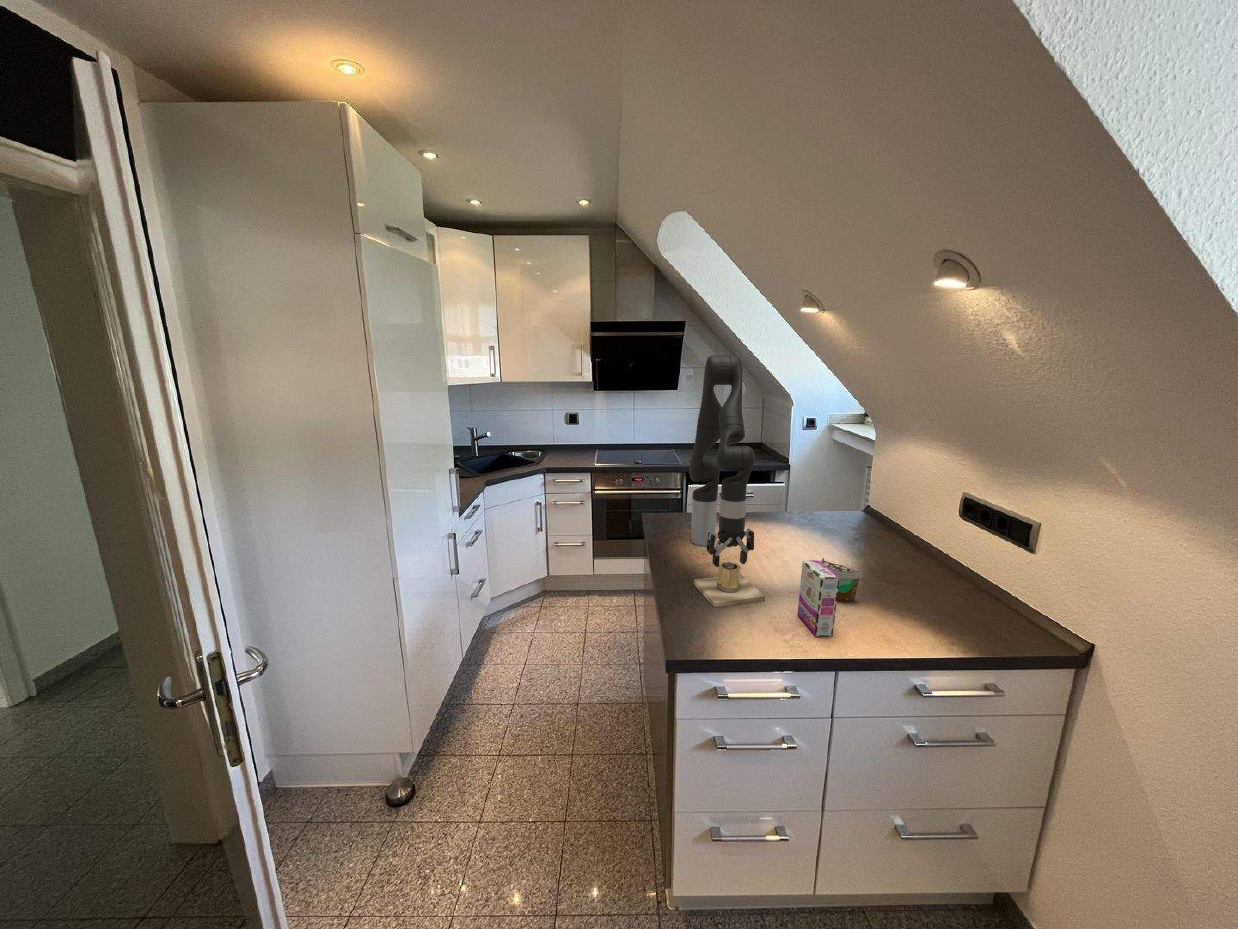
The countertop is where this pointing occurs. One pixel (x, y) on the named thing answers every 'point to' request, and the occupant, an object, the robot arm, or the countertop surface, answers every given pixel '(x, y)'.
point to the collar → (729, 576)
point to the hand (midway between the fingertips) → (729, 564)
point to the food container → (845, 581)
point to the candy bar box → (818, 598)
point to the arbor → (727, 566)
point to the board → (726, 599)
